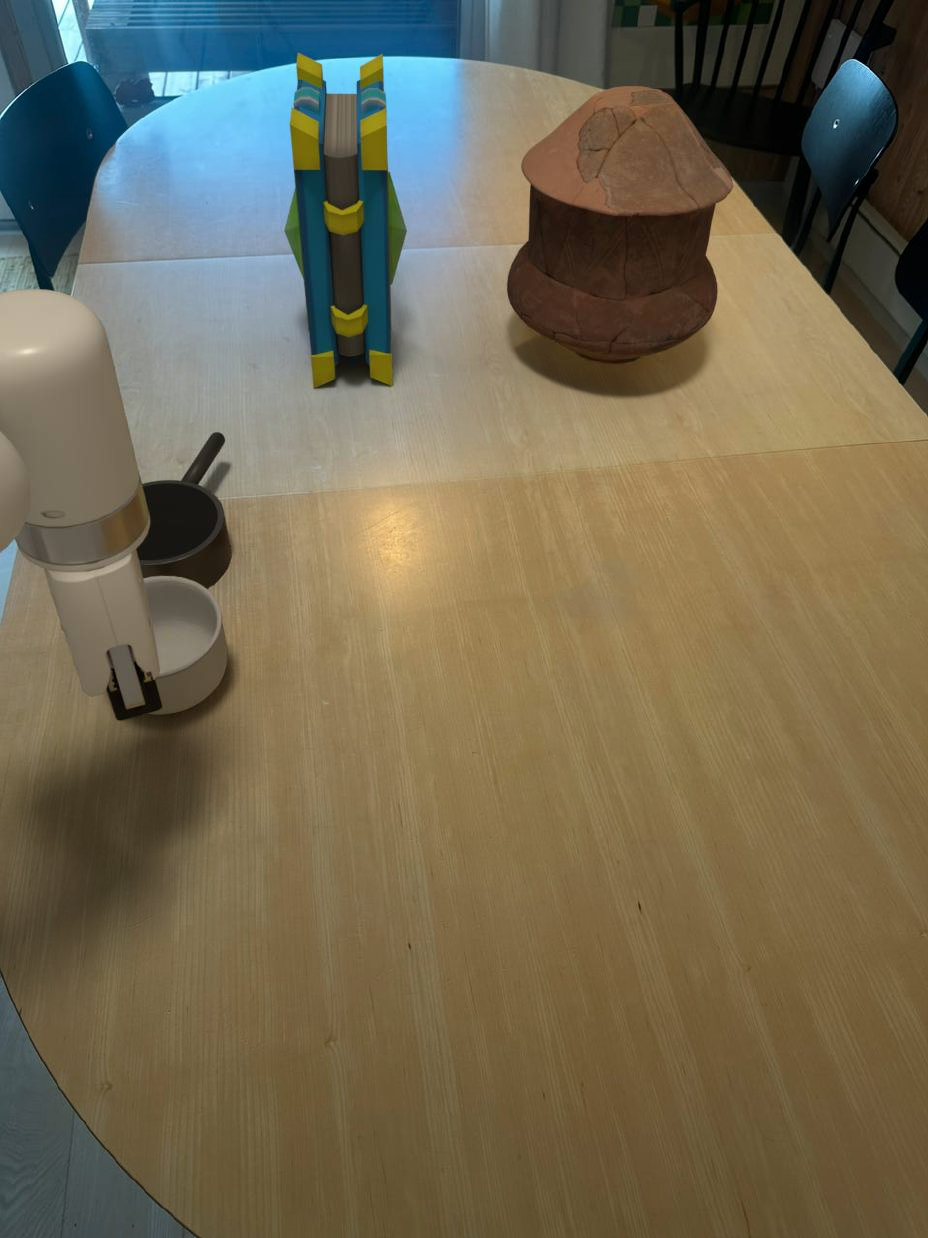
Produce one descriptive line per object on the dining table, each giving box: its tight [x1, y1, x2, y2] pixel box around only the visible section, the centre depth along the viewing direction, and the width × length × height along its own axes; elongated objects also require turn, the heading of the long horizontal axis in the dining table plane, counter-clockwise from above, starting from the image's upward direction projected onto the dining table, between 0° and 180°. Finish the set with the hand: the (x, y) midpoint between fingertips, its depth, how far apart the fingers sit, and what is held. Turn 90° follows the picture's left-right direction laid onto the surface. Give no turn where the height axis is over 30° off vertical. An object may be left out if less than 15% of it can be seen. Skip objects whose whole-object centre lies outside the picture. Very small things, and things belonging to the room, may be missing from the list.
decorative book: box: [283, 52, 408, 389], centre depth 112 cm, size 14×23×30 cm, turn 4°
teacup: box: [59, 576, 228, 715], centre depth 82 cm, size 14×11×8 cm
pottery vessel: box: [506, 85, 734, 365], centre depth 113 cm, size 26×26×30 cm
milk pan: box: [136, 431, 232, 590], centre depth 96 cm, size 12×21×5 cm, turn 168°
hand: (138, 707), depth 69 cm, fingers closed
